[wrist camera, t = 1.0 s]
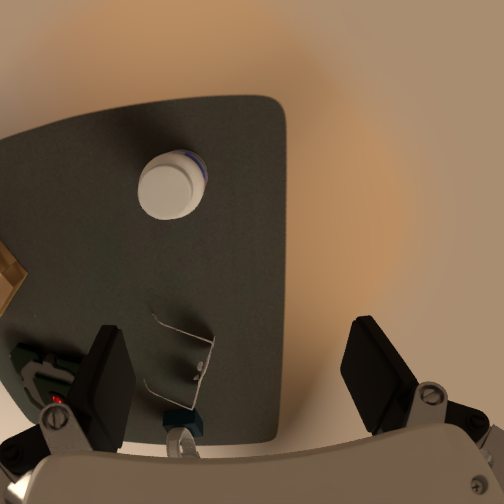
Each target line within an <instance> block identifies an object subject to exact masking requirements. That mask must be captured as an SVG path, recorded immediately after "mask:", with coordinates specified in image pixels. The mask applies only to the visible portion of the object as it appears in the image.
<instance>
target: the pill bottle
mask: <svg viewBox="0 0 504 504" xmlns="http://www.w3.org/2000/svg"><path fill="white" fill-rule="evenodd" d="M207 178H208V174H207V168H206V165H205V163H204V161H203V160H202V159H201V158H200V157H199V156H198V155H197V154H196V153H194V152H191V151H188V150H174V151H171V152H167V153H164V154H162V155H159V156H157V157H155V158H154V159H152V160H151V161H150V162H149V163H148V164H147V165H146V166H145V168H144V169H143V171H142V173H141V176H140V180H139V186H138V199H139V202H140V204H141V206H142V208H143V209H144V210H145V212H146V213H148V214H149V215H150V216H152V217H154V218H157V219H162V220H168V219H175V218H180V217H183V216H185V215H187V214H189V213H190V212H192V211H193V210H194V209H195V208H196V207H197V205H198V204H199V202H200V200H201V198H202V196H203V193H204V189H205V186H206V183H207Z"/></svg>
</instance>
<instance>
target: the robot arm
mask: <svg viewBox="0 0 504 504" xmlns="http://www.w3.org/2000/svg"><path fill="white" fill-rule="evenodd" d="M340 371H341V375H342V377H343V379H344V381H345V384H346V386H347V388H348V390H349V392H350V394H351V396H352V399H353V401H354V403H355V405H356V407H357V410H358V412H359V414H360V416H361V418H362V420H363V423H364V425H365V427H366V429H367V431H368V432H371V433H372V435H373V436H371V437H367V438H363V439H359V440H355V441H350V442H346V443H342V444H337V445H332V446H327V447H322V448H316V449H310V450H304V451H298V452H291V453H283V454H275V455H265V456H253V457H239V458H209V459H208V458H203V459H202V458H168V457H153V456H152V457H151V456H140V455H130V454H121V453H117V449H118V448H121V447H122V444H123V438H124V433H125V428H126V424H127V419H128V414H129V410H130V405H131V401H132V396H133V392H134V388H135V383H136V378H135V374H134V371H133V367H132V364H131V361H130V358H129V354H128V351H127V348H126V344H125V341H124V337H123V333H122V330H121V329H118V328H117V326H116V325H102V326H101V328H100V330H99V332H98V334H97V336H96V338H95V341H94V343H93V345H92V347H91V349H90V351H89V353H88V355H86V356H84V358H83V360H82V362H81V364H80V366H79V368H78V371H77V373H76V375H75V377H74V380H73V382H72V384H71V387H70V389H69V392H68V394H67V396H66V399H65V401H64V403H61V402H54V403H50V404H48V405H46V406H45V407H44V408H43V409H42V410H41V412H40V414H39V418H38V420H39V424H37V425H35V426H33V427H31V428H29V429H27V430H25V431H23V432H21V433H19V434H17V435H15V436H13V437H10V438H8V439H6V440H5V441H3V442H2V444H1V445H0V504H504V431H503V430H502V429H500V428H499V427H497V426H495V425H493V426H492V427H491V426H490V424H489V419H488V417H487V416H486V415H485V414H484V413H483V412H482V411H480V410H477V409H474V408H470V407H467V406H464V405H461V404H458V403H455V402H452V401H449V400H448V399H447V398H448V396H447V393H446V390H445V389H444V388H443V387H442V386H440V385H439V384H437V383H435V382H423V383H421V384H419V383H418V381H417V379H416V378H415V376H414V375H413V373H412V372H411V370H410V369H409V367H408V366H407V365H406V363H405V362H404V360H403V359H402V357H401V356H400V355H399V353H398V352H397V351H396V349H395V348H394V346H393V345H392V343H391V342H390V341H389V339H388V338H387V336H386V335H385V334H384V332H383V331H382V330H381V328H380V327H379V326H378V324H377V323H376V321H375V320H374V319H373V317H372V316H370V315H368V316H360V317H357V318H356V320H354V321H353V322H352V326H351V330H350V334H349V337H348V341H347V345H346V349H345V352H344V356H343V359H342V363H341V367H340Z"/></svg>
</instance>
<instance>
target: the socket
mask: <svg viewBox="0 0 504 504" xmlns="http://www.w3.org/2000/svg"><path fill="white" fill-rule="evenodd" d="M27 274H28V273H27V272H26V271H25V270H24V268H23V267H22V266H21V265H20V264H19V263H18V261H17V260H16V259H15V258H14V256H13V255H12V254H11V253H10V251H9V250H8V249H7V248H6V246H5V245H4V244H3V243H2V241H1V240H0V317H1V315H2V314H3V313H4V312H5V310H6V308H7V306H8V305H9V303H10V301H11V300H12V298H13V296H14V295H15V293H16V291H17V290H18V288H19V287H20V285H21V284H22V282H23V280H24V279H25V277H26V276H27Z"/></svg>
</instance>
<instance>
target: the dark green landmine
mask: <svg viewBox="0 0 504 504" xmlns="http://www.w3.org/2000/svg"><path fill="white" fill-rule="evenodd" d="M10 359H11V361H12V364H13V366H14V368H15V371H16V373H18V374H19V375H22V376H23V380H22V383H23V385H24V386H25V388H24V390H25V392H26V394H27V396H28V398H29V400H30V402H31V403H32V404H33V405H35V406H36V407H37V408H38V409H40V410H42V409H43V408H44V407H45V406H46V405H48V404H50V403H54V402H61V403H64V401H65V399H66V396H67V394H68V392H69V389H70V387H71V384H72V382H73V380H74V377H75V375H76V373H77V371H78V368H79V366H80V364H81V362H82V360H83V359H82V358H78V357H73V356H69V355H65V354H60V355H59V356H58V358H57V356H56V355H55V354H52V353H48V354H47V356H45V355H42V353H41V350H40V349H39V348H38V347H34V346H31V345H27V344H24V343H18V344H17V345H16V346H15V348H14V349H13V350H12V352H11V353H10Z"/></svg>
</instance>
